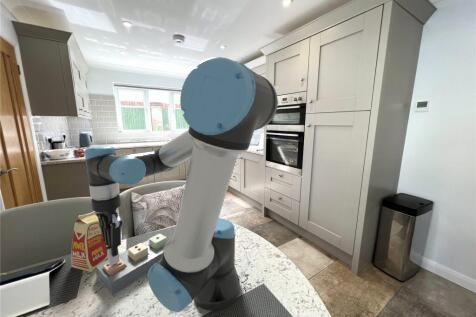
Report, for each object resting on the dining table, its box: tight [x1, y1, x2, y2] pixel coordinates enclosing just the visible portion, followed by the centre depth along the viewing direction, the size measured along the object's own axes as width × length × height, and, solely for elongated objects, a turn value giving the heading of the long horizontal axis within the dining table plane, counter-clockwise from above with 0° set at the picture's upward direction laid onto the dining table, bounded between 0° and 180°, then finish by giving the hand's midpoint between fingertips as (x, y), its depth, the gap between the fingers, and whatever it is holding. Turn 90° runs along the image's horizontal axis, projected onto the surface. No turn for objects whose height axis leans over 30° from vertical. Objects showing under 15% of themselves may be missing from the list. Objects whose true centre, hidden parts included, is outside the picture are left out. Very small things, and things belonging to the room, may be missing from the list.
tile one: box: [148, 233, 168, 250], centre depth 78 cm, size 5×5×3 cm
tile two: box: [127, 242, 148, 262], centre depth 71 cm, size 5×5×3 cm
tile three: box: [103, 258, 126, 277], centre depth 65 cm, size 5×5×3 cm
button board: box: [95, 239, 164, 297], centre depth 72 cm, size 12×23×4 cm, turn 144°
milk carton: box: [70, 211, 108, 273], centre depth 73 cm, size 9×9×20 cm
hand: (114, 262), depth 65 cm, fingers closed
